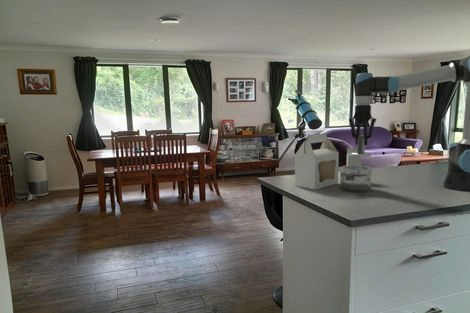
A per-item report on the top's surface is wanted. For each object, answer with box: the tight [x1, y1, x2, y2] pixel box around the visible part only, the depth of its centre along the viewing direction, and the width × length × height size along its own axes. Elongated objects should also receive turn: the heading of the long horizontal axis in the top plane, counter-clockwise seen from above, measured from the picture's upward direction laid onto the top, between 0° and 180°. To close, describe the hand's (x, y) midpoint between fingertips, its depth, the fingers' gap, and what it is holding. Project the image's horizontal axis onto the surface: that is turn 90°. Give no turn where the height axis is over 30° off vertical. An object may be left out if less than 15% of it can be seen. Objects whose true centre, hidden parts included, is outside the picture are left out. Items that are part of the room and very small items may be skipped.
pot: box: [338, 165, 374, 193], centre depth 173 cm, size 16×22×11 cm
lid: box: [351, 134, 373, 158], centre depth 174 cm, size 10×10×10 cm
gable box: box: [294, 132, 340, 191], centre depth 187 cm, size 22×13×28 cm, turn 131°
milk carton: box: [346, 147, 363, 166], centre depth 194 cm, size 7×7×19 cm
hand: (361, 151), depth 174 cm, fingers closed on lid, 2 cm apart
